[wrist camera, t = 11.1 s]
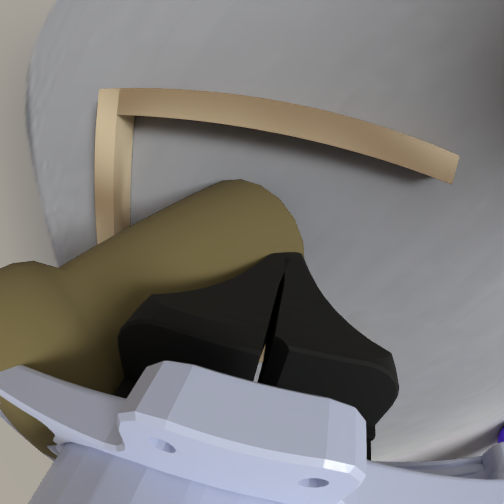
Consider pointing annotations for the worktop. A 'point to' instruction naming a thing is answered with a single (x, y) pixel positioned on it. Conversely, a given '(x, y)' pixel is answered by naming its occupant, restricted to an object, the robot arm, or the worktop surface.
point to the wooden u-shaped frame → (244, 115)
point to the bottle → (501, 436)
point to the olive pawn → (130, 286)
